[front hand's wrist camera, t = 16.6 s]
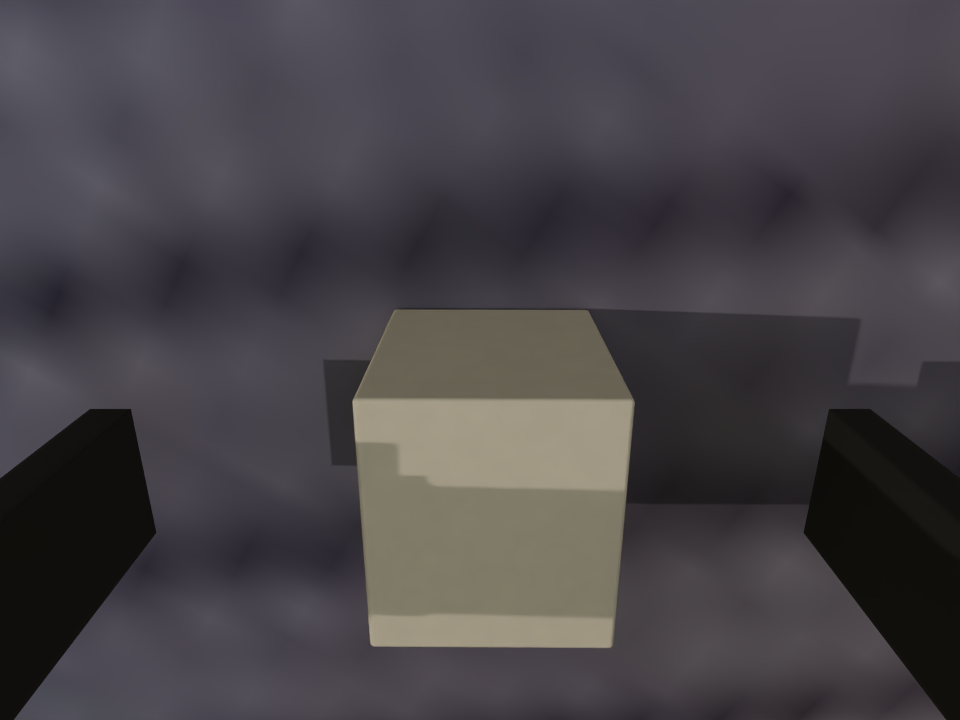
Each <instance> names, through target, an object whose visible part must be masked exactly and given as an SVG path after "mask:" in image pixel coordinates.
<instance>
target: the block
mask: <svg viewBox="0 0 960 720" xmlns="http://www.w3.org/2000/svg"><path fill="white" fill-rule="evenodd" d="M352 403H353V417H354V430H355V444H356V457H357V470H358V484H359V497H360V511H361V524H362V537H363V551H364V564H365V578H366V591H367V604H368V618H369V631H370V642H371V645H372V646H392V647H553V648H610V647H612V646H613V640H614V629H615V618H616V607H617V595H618V584H619V573H620V562H621V551H622V540H623V528H624V517H625V506H626V495H627V484H628V473H629V462H630V450H631V439H632V428H633V417H634V406H635V402H634V399H633V397H632V395H631V393H630V392H629V390H628V388H627V386H626V384H625V382H624V380H623V378H622V376H621V374H620V372H619V370H618V368H617V366H616V364H615V362H614V360H613V358H612V356H611V354H610V352H609V350H608V348H607V346H606V345H605V343H604V341H603V339H602V337H601V335H600V333H599V331H598V329H597V327H596V325H595V323H594V321H593V319H592V317H591V315H590V313H589V311H587V310H394V312H393V314H392V316H391V318H390V321H389V323H388V325H387V327H386V329H385V331H384V334H383V336H382V338H381V340H380V342H379V345H378V347H377V349H376V351H375V353H374V355H373V358H372V360H371V362H370V364H369V366H368V368H367V371H366V373H365V375H364V377H363V379H362V381H361V384H360V386H359V388H358V390H357V392H356V395H355V397H354V399H353V402H352Z"/></svg>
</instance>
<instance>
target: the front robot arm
mask: <svg viewBox="0 0 960 720" xmlns="http://www.w3.org/2000/svg"><path fill="white" fill-rule="evenodd" d="M155 534H156V529H155V524H154V519H153V514H152V510H151V505H150V500H149V495H148V490H147V485H146V481H145V476H144V471H143V466H142V461H141V456H140V451H139V447H138V442H137V437H136V432H135V427H134V422H133V417H132V413H131V409H90V410H88V411H87V412H86V413H84V414H83V415H82V416H80V417H79V418H78V419H77V420H75V421H74V422H73V423H71V424H70V425H69V426H68V427H66V428H65V429H64V430H62V431H61V432H60V433H58V434H57V435H56V436H55V437H53V438H52V439H51V440H49V441H48V442H47V443H46V444H44V445H43V446H42V447H40V448H39V449H38V450H36V451H35V452H34V453H33V454H31V455H30V456H29V457H27V458H26V459H25V460H24V461H22V462H21V463H20V464H18V465H17V466H16V467H14V468H13V469H12V470H11V471H9V472H8V473H7V474H5V475H4V476H3V477H1V478H0V720H14V719H15V717H16V716H17V715H18V713H19V712H20V711H21V709H22V708H23V707H24V706H25V704H26V703H27V702H28V700H29V699H30V698H31V696H32V695H33V694H34V692H35V691H36V690H37V688H38V687H39V686H40V685H41V683H42V682H43V681H44V679H45V678H46V677H47V675H48V674H49V673H50V671H51V670H52V669H53V668H54V666H55V665H56V664H57V662H58V661H59V660H60V658H61V657H62V656H63V654H64V653H65V652H66V650H67V649H68V648H69V647H70V645H71V644H72V643H73V641H74V640H75V639H76V637H77V636H78V635H79V633H80V632H81V631H82V629H83V628H84V627H85V626H86V624H87V623H88V622H89V620H90V619H91V618H92V616H93V615H94V614H95V612H96V611H97V610H98V608H99V607H100V606H101V605H102V603H103V602H104V601H105V599H106V598H107V597H108V595H109V594H110V593H111V591H112V590H113V589H114V587H115V586H116V585H117V584H118V582H119V581H120V580H121V578H122V577H123V576H124V574H125V573H126V572H127V570H128V569H129V568H130V566H131V565H132V564H133V563H134V561H135V560H136V559H137V557H138V556H139V555H140V553H141V552H142V551H143V549H144V548H145V547H146V545H147V544H148V543H149V542H150V540H151V539H152V538H153V536H154V535H155ZM804 534H805V535H806V536H807V538H808V539H809V540H810V542H811V543H812V544H813V545H814V547H815V548H816V549H817V551H818V552H819V553H820V555H821V556H822V557H823V559H824V560H825V561H826V563H827V564H828V565H829V566H830V568H831V569H832V570H833V572H834V573H835V574H836V576H837V577H838V578H839V580H840V581H841V582H842V584H843V585H844V586H845V587H846V589H847V590H848V591H849V593H850V594H851V595H852V597H853V598H854V599H855V601H856V602H857V603H858V605H859V606H860V607H861V608H862V610H863V611H864V612H865V614H866V615H867V616H868V618H869V619H870V620H871V622H872V623H873V624H874V626H875V627H876V628H877V629H878V631H879V632H880V633H881V635H882V636H883V637H884V639H885V640H886V641H887V643H888V644H889V645H890V647H891V648H892V649H893V650H894V652H895V653H896V654H897V656H898V657H899V658H900V660H901V661H902V662H903V664H904V665H905V666H906V668H907V669H908V670H909V671H910V673H911V674H912V675H913V677H914V678H915V679H916V681H917V682H918V683H919V685H920V686H921V687H922V688H923V690H924V691H925V692H926V694H927V695H928V696H929V698H930V699H931V700H932V702H933V703H934V704H935V706H936V707H937V708H938V709H939V711H940V712H941V713H942V715H943V716H944V717H945V719H946V720H960V478H959V477H957V476H956V475H955V474H953V473H952V472H951V471H949V470H948V469H947V468H946V467H944V466H943V465H942V464H940V463H939V462H938V461H936V460H935V459H934V458H933V457H931V456H930V455H929V454H927V453H926V452H925V451H924V450H922V449H921V448H920V447H918V446H917V445H916V444H914V443H913V442H912V441H911V440H909V439H908V438H907V437H905V436H904V435H903V434H902V433H900V432H899V431H898V430H896V429H895V428H894V427H892V426H891V425H890V424H889V423H887V422H886V421H885V420H883V419H882V418H881V417H880V416H878V415H877V414H876V413H874V412H873V411H872V410H870V409H829V413H828V417H827V422H826V427H825V432H824V437H823V442H822V447H821V451H820V456H819V461H818V466H817V471H816V476H815V481H814V485H813V490H812V495H811V500H810V505H809V510H808V514H807V519H806V524H805V529H804Z"/></svg>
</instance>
